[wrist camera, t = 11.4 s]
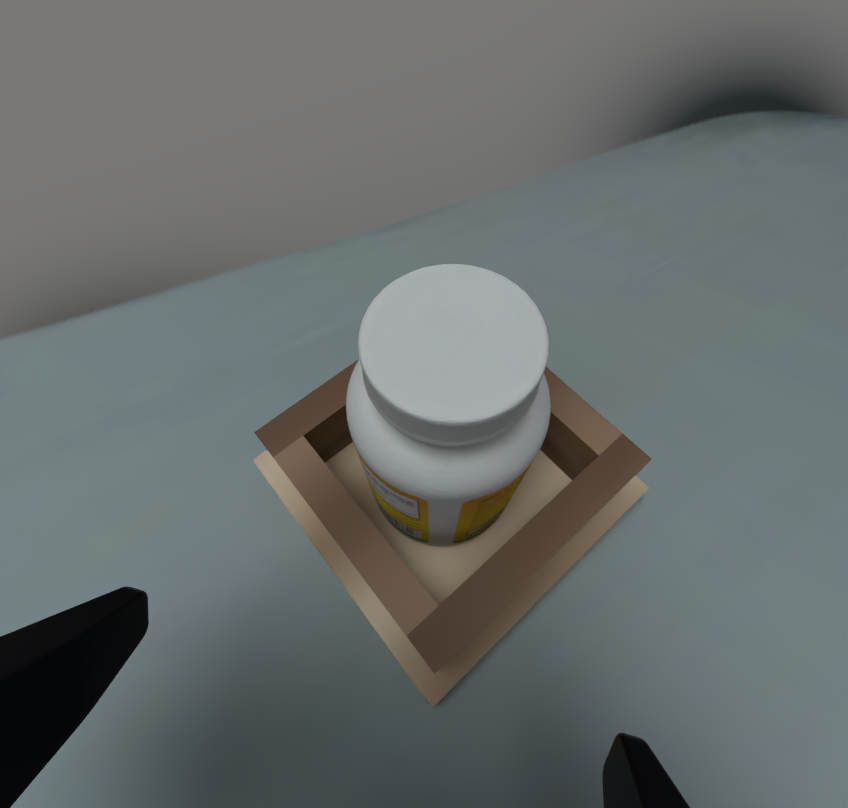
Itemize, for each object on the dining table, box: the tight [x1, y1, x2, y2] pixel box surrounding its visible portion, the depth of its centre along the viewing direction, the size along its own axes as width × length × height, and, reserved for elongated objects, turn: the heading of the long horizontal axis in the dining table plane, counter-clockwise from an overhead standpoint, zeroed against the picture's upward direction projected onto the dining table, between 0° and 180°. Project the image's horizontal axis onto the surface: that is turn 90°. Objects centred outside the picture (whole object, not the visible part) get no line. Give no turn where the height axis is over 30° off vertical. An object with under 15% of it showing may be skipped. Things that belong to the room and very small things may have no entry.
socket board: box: [253, 360, 651, 708], centre depth 17 cm, size 11×11×4 cm
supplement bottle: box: [346, 264, 551, 546], centre depth 14 cm, size 5×5×10 cm
